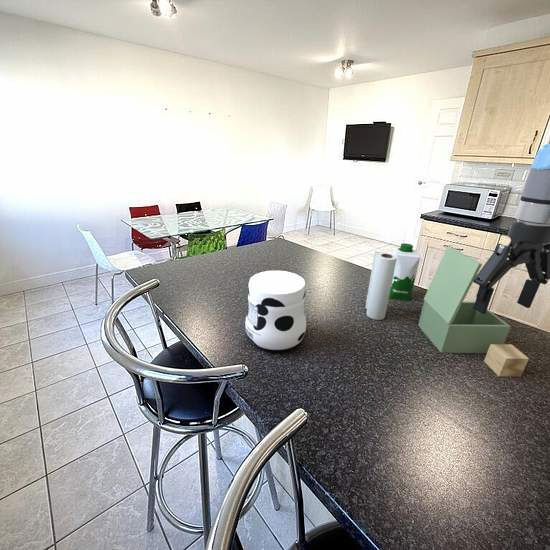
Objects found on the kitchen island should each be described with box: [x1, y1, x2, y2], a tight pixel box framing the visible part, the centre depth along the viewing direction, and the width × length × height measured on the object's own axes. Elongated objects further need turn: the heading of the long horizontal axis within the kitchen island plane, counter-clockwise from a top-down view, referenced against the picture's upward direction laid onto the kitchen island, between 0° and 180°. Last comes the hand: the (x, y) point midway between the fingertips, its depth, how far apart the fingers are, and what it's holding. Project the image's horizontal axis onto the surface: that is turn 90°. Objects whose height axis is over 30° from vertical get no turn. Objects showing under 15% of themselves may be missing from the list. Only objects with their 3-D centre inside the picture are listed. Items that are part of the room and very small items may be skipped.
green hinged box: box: [417, 300, 512, 354], centre depth 85 cm, size 17×14×9 cm
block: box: [483, 343, 530, 378], centre depth 74 cm, size 6×6×6 cm
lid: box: [423, 245, 483, 324], centre depth 79 cm, size 17×14×1 cm
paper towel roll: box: [364, 250, 397, 321], centre depth 94 cm, size 7×6×21 cm
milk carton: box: [389, 242, 421, 301], centre depth 106 cm, size 9×9×20 cm
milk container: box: [244, 270, 307, 352], centre depth 81 cm, size 17×17×18 cm
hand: (501, 308), depth 71 cm, fingers open, 13 cm apart
